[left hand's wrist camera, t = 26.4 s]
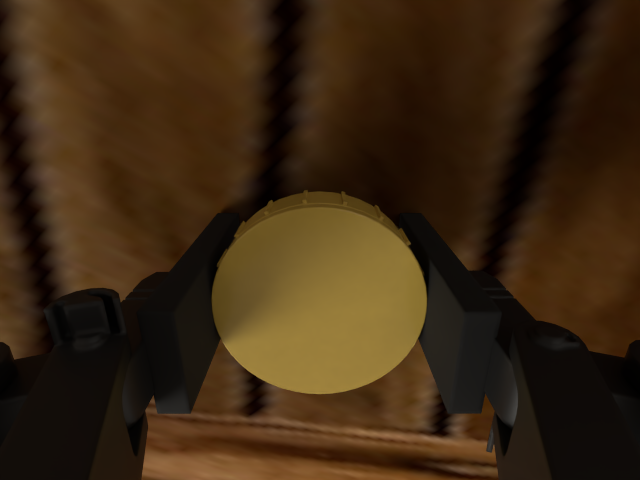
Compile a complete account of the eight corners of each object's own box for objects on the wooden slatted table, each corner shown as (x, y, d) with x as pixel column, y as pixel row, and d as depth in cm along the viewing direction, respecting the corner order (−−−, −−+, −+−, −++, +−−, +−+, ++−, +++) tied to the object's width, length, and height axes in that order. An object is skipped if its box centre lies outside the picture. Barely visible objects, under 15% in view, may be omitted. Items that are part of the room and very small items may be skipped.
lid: (452, 298, 12) (470, 327, 11) (302, 388, 13) (300, 425, 12) (341, 145, 10) (344, 154, 9) (181, 267, 12) (161, 293, 10)
